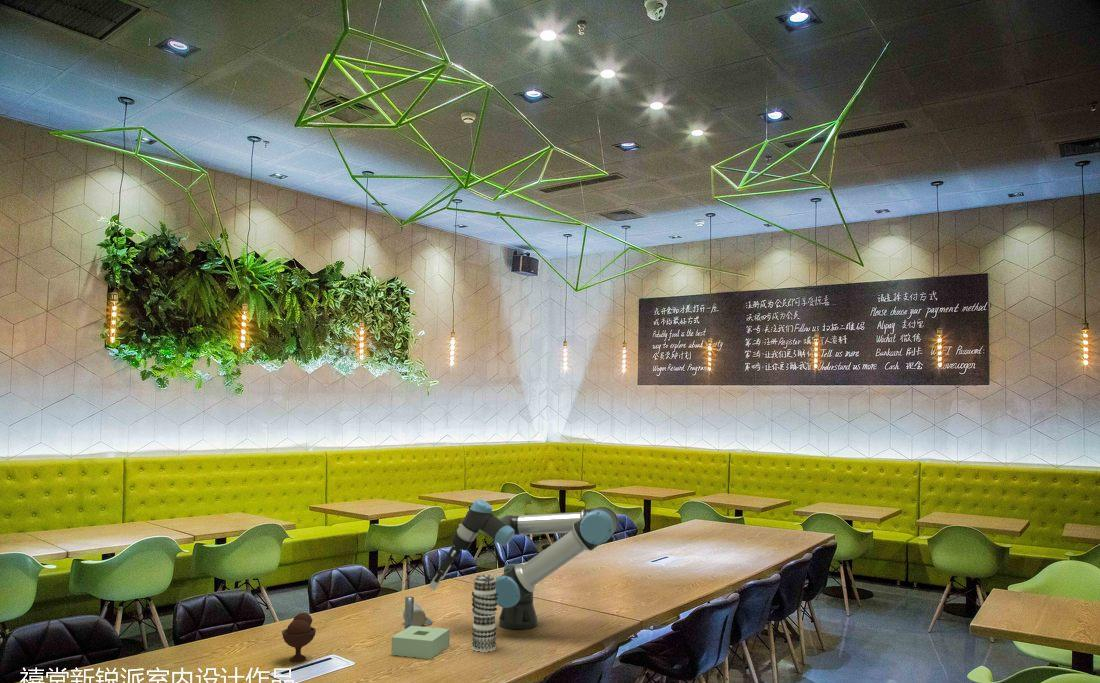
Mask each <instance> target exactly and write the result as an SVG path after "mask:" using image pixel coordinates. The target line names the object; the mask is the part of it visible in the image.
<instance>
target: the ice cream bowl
mask: <svg viewBox="0 0 1100 683" xmlns="http://www.w3.org/2000/svg"><path fill="white" fill-rule="evenodd" d="M313 621H314V620H313V618H312V616H311V615H310V614H309V613H307V612H299V613H297V614H296V615H295V616H294V617H293V620H292V621H290V623H289V625H288V626H287V628H285V629H284V630H281V634H282V639H283V640H284V641H283V642H285V643H286V644H287V646H289V647H292V648H293V649H294V648H295V654H294V655H293V656H291V657H289V662H291V663H302V662H303V663H304V662H305V661H306V660H307V658H306V656H305V655H303V654H302V648H303V647H306V646H307V645H308V644H310V643H311V642H312V641H313V640H314V638H315V636H316V632H317V630H316V628H315V627H313V626H312V624H313V623H312V622H313Z"/></svg>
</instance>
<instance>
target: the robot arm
mask: <svg viewBox="0 0 1100 683" xmlns="http://www.w3.org/2000/svg"><path fill="white" fill-rule="evenodd" d="M492 511H493V506H492V505H491V504H490V503H489V502H487V501H486V500H483V499H480V498H479V499H476V500H475V501H474V502H473V504H472V505H471V506H470V508H469V510H468V511H467V513H466V515H465V517H464V518H463V520H461V523H459V524H458V527H457V529H456V532H454V534H453V535H452V537H451V539H450V540H451V543H452V545H453V546H451V547H450V549H449V551H448V554H447V555H446V556H445V557H446V558H445V560H444V562H443V563H442V565H441V566H440V568H439V569H438V570H437V569H436V570H435V572H436V573H435V575H434V577H433V578H432V580H431V581H430V583H429V585H428V588H430V589H431V590H433V591H436V588H438V586H439V584H440V582H441V581H442V580H443V579H444V578H445V576H446V575H447V573H448V571H449V570H450V568H451V566H454V565H455V560H456V559H457V558H458V557H459V556H460V554H461V553H462V551H468V550H469V548H470V546H471V545H472V543H473V542H474V541H475V539H476V538H477V536H478V534H479V532H480V531H481V532H483V533H484V534H486V535H487V536H488V537H490V538H491V539H492V540H493V541H495V543H496V544H499V545H500V546H502V547H506V546H507V545H508V544H510V541H511V540H512V539H513V538H514V536H519V535H520V536H521V535H522V536H523V535H541V534H542V535H543V534H548V535H549V534H563V533H564V534H565V535H563V536H562V537H561V538H559V539H557V540H556V541H555V542H553V543H552V544H550V545H549V546H548V547H546V548H545V549H544V550H542V551H541V552H539V553H538V554H536V555H535V556H533V557H532V558H531V559H529V560H528V561H526V562H525V563H524V564H523V563H507V564H504V567H503V573H502V574H501V575H500V576H498V577H496V578H495V579H496V581H495V588H496V593H498V595H497V596H495V597H497V598H498V599H497V600H496V601H495V602H496V603H497V606H499V607H501V611H500V614H499V617H498V625H499V627H502V628H504V629H509V630H528V629H531V628H535V627H536V626H537V625H538V616H537V613H536V609H535V606H534V591H535V588H536V587H535V586H536V585H537V584H539V583H540V582H542V581H544V579H547V577H549V576H550V575H551V574H553V573H555V572H556V571H557V570H559V569H560V568H562V567H563V566H564V565H566V564H567V563H569V562H570V561H572V560H573V559H575V558H576V557H577V556H578V555H580V554H581V553H583V552H584V551H590V552H591V551H593V550H594V549H596V548H597V547H598V546H600V545H602V544H604V543H606V542H607V541H609V540H610V539H611V537H612V536H613V535H614V534H615V533H616V531H617V529H618V525H619V519H618V516H617V514H616V512H614V510H612V509H611V508H609V507H607V506H599V507H595V508H593V507H592V508H585V509H582V510H581V511H578V512H577V511H575V512H559V513H543V514H542V513H540V514H524V515H513V514H507V515H504V516H502V517H501V518H500V517H499V518H498V517H497V516H495V514H493V513H492Z"/></svg>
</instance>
